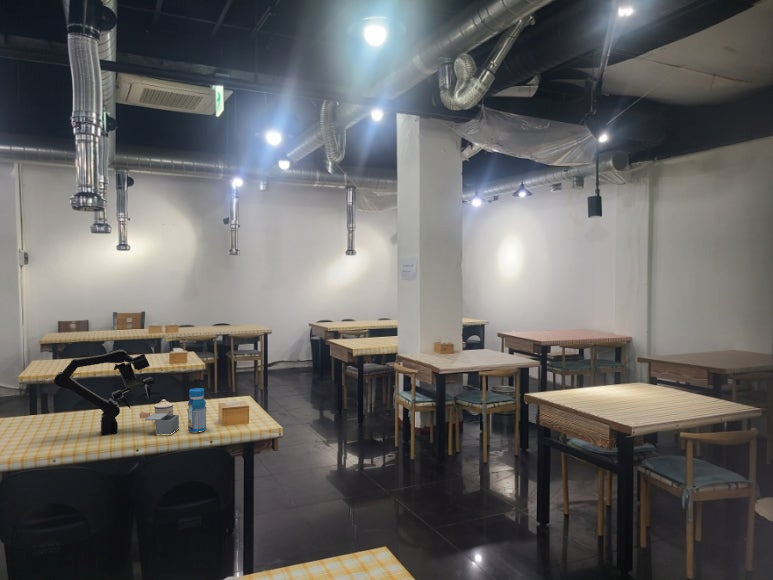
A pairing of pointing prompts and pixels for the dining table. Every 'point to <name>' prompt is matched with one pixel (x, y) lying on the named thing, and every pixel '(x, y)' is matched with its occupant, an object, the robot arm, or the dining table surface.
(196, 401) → the beverage bottle
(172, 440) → the dining table surface
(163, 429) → the carton
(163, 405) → the teacup with lid
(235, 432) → the dining table surface
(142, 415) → the lid
